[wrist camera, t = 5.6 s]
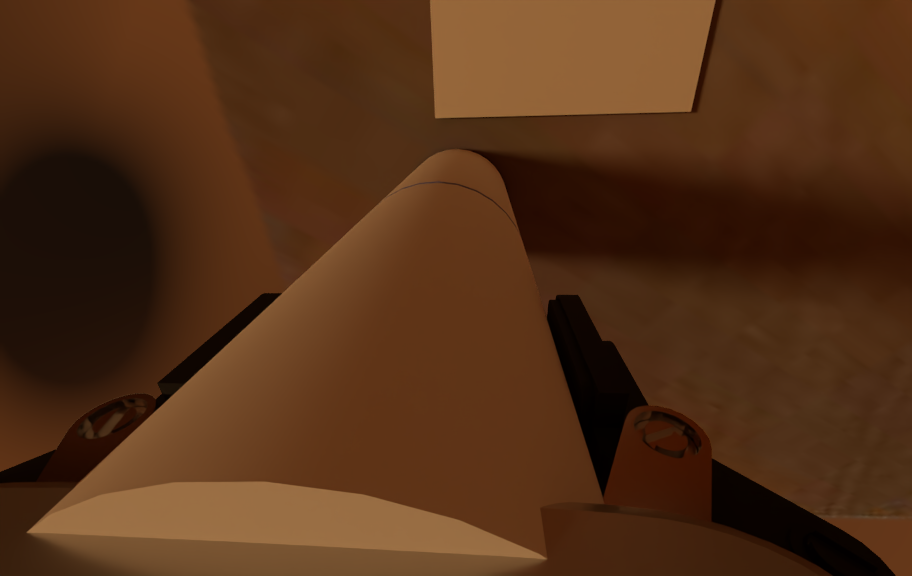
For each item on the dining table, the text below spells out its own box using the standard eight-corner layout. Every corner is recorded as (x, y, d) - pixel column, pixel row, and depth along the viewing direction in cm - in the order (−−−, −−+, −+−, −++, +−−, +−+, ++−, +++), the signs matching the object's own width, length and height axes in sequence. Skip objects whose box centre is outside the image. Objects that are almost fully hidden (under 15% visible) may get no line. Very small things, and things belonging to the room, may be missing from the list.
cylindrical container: (473, 127, 25) (393, 327, 2) (524, 217, 27) (745, 763, 4) (388, 185, 27) (-123, 609, 4) (443, 264, 29) (312, 805, 6)
